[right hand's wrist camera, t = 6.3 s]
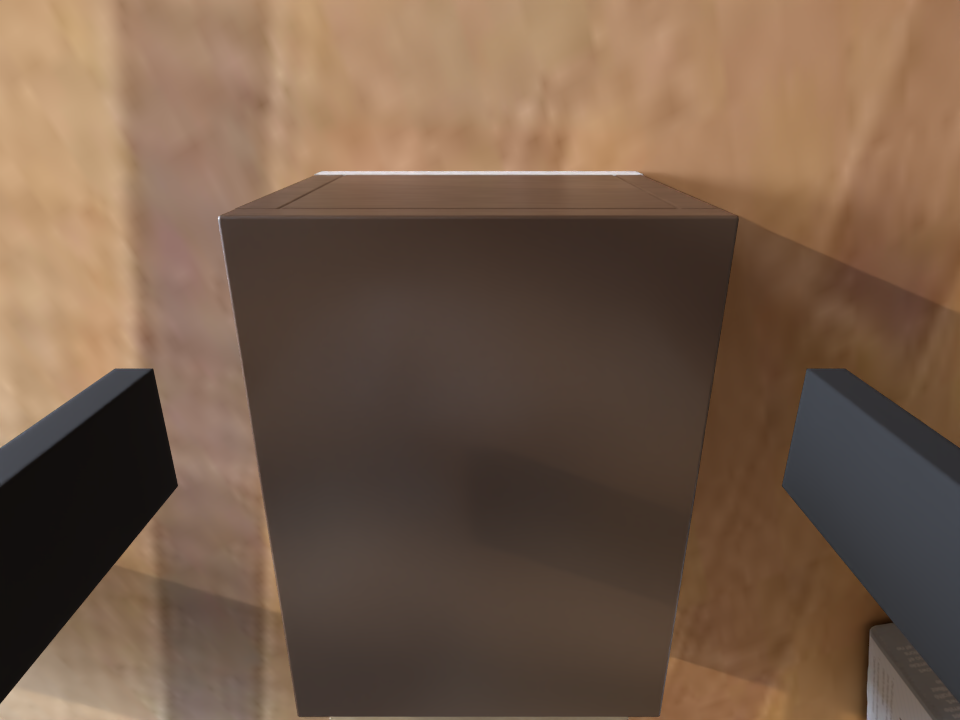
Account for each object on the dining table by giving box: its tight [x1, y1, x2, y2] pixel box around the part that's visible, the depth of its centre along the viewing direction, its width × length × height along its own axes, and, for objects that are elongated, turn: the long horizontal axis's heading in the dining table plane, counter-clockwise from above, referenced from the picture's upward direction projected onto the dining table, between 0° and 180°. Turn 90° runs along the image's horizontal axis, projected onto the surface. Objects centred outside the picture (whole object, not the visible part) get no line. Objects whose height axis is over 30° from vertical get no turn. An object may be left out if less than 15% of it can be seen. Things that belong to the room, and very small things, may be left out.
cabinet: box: [218, 171, 739, 717], centre depth 20 cm, size 15×11×9 cm
